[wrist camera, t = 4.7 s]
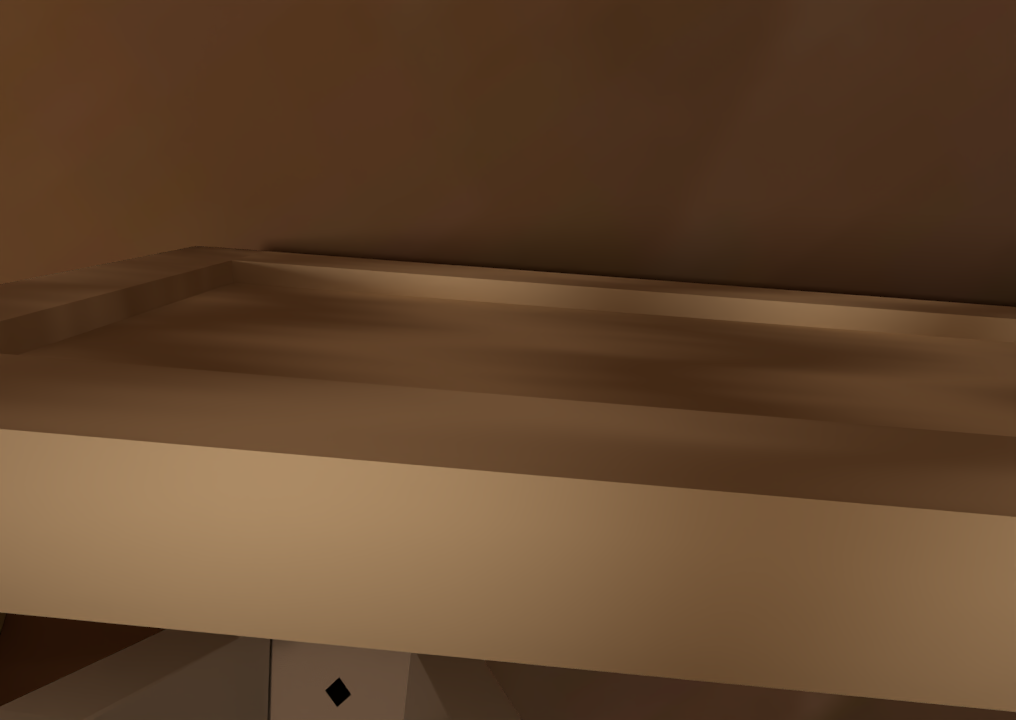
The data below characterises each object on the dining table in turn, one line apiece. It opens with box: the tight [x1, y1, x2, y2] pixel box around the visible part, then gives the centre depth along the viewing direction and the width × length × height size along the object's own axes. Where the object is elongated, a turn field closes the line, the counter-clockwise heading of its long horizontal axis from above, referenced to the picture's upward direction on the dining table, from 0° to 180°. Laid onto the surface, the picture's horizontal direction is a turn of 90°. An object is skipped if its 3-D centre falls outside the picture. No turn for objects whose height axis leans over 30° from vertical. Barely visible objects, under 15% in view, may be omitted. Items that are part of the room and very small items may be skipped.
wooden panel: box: [0, 246, 1016, 712], centre depth 9 cm, size 20×2×10 cm, turn 86°
